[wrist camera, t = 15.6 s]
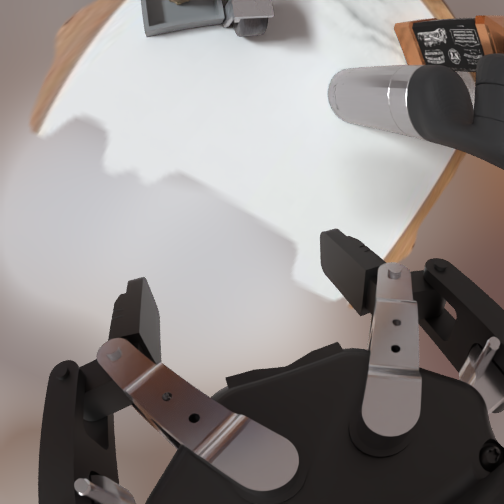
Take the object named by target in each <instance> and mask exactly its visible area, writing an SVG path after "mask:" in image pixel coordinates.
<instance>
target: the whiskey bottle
mask: <svg viewBox="0 0 504 504" xmlns="http://www.w3.org/2000/svg"><path fill="white" fill-rule="evenodd" d="M394 30H395V32H396V35H397V37H398V40H399V42H400V45H401V47H402V50H403V53H404V55H405V58H406V61H407V64H408V65H442V66H446V67H448V68H450V69H452V70H454V71H466V72H476V68H477V62H478V60H479V59H480V58H481V57H482V56H484V55H488V54H495V53H501V54H504V16H476V18H462V19H461V18H460V19H441V20H438V19H436V18H432V19H421V20H414V21H408V22H402V23H396V24H395V26H394Z"/></svg>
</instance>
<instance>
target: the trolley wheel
mask: <svg viewBox="0 0 504 504" xmlns="http://www.w3.org/2000/svg"><path fill="white" fill-rule="evenodd" d="M223 10H224V17H225V19H224V20H223V27H228V26H229V25H230V24H231V22H232V23H233V27H234V30H235V32H236V34H237V35H238V36H239V37H241V36H255V35H263V34H264V33H265V31H266V28H267V24H268V18H271V17H273V16H274V10H273V5H272V0H229V1H228V2H227V4H226V6H225V7H224V9H223Z"/></svg>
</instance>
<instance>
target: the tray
mask: <svg viewBox="0 0 504 504" xmlns="http://www.w3.org/2000/svg"><path fill="white" fill-rule="evenodd" d="M141 5H142V14H143V22H144V29H145V34H146V37H149V36H153V35H157V34H162V33H167V32H172V31H177V30H182V29H188V28H195V27H201V26H209V25H217V24H221V23H222V22H223V20H224V19H225V17H224V10H223V4H222V0H190V1H188V2H184V3H182V4H181V5H176V3H174V2H170V1H169V0H141Z"/></svg>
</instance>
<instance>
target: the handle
mask: <svg viewBox="0 0 504 504" xmlns="http://www.w3.org/2000/svg"><path fill="white" fill-rule="evenodd" d="M169 1H170V2H174V3H176V5H181V4H182V3H184V2H188V1H190V0H169Z"/></svg>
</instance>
